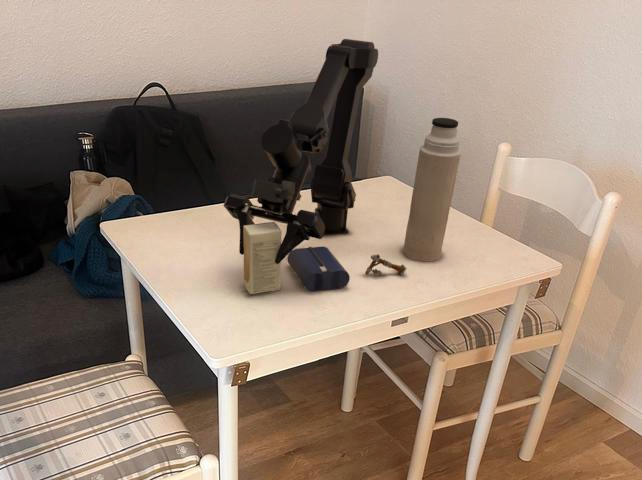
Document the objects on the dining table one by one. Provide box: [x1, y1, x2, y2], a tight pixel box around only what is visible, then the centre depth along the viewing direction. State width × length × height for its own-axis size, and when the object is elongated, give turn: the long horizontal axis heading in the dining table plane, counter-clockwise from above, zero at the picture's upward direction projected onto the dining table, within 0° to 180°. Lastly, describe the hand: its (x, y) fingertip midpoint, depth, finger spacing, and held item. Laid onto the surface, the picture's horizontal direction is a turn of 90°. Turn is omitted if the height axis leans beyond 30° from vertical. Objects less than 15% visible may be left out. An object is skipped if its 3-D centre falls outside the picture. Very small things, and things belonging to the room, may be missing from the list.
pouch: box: [286, 245, 351, 293], centre depth 132 cm, size 9×11×4 cm
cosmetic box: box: [243, 221, 283, 295], centre depth 124 cm, size 6×4×12 cm
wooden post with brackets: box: [364, 253, 408, 277], centre depth 135 cm, size 2×8×4 cm, turn 102°
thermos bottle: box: [402, 117, 462, 262], centre depth 137 cm, size 8×8×28 cm
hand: (258, 258), depth 123 cm, fingers closed on cosmetic box, 7 cm apart
